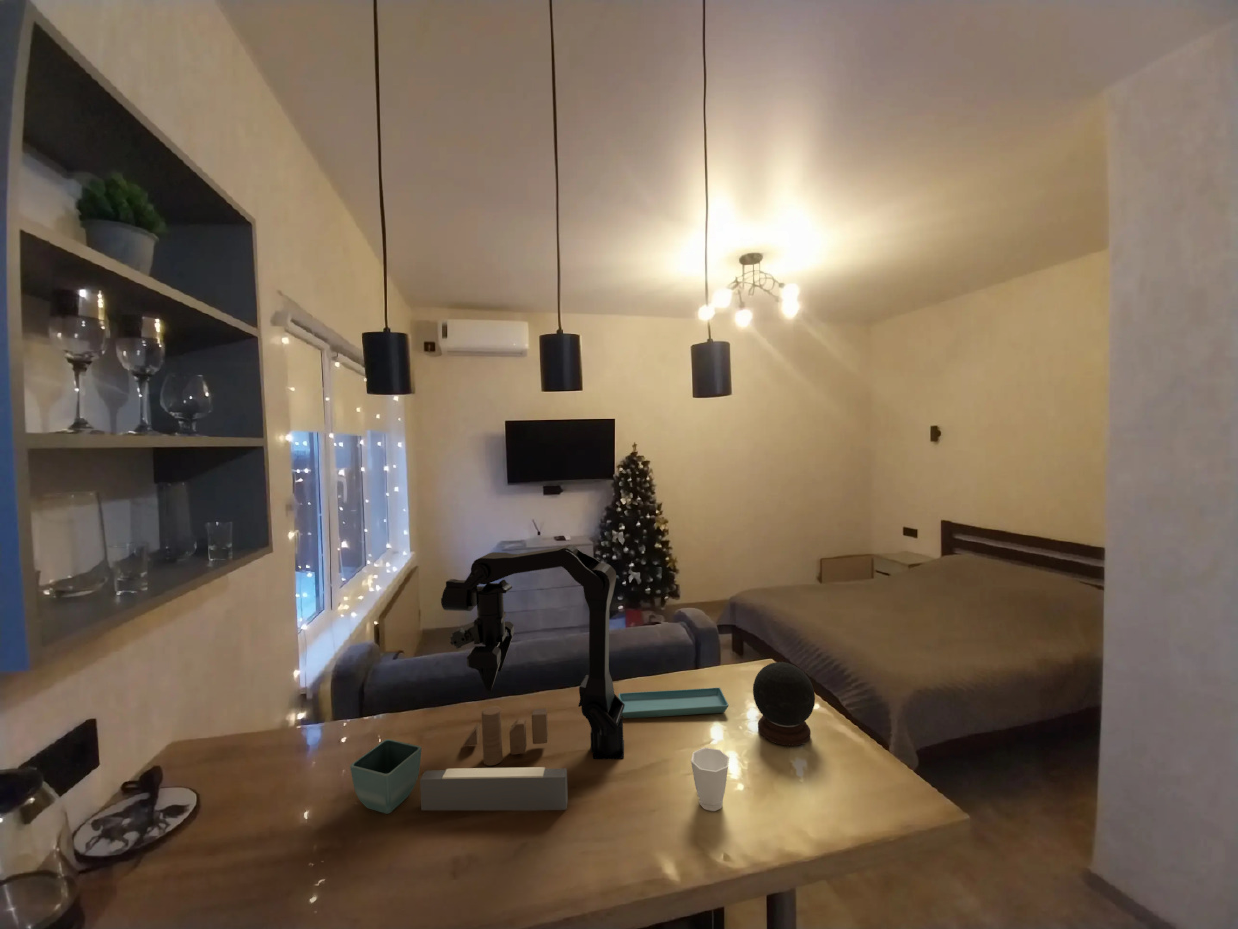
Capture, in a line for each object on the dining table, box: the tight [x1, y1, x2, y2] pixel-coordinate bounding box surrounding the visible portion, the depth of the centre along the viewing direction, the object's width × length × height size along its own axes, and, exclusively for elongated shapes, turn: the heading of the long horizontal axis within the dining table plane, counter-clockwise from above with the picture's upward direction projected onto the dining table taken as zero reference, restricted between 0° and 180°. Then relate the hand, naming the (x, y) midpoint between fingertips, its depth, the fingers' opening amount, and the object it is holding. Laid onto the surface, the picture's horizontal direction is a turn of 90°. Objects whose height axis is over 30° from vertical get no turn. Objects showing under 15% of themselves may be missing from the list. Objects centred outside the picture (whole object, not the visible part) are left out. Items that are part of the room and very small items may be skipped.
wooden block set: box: [462, 705, 549, 767], centre depth 106 cm, size 18×9×10 cm, turn 94°
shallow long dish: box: [617, 687, 729, 719], centre depth 123 cm, size 26×9×2 cm, turn 92°
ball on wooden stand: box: [752, 661, 816, 747], centre depth 111 cm, size 13×13×15 cm
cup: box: [690, 747, 730, 812], centre depth 91 cm, size 7×10×8 cm
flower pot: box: [349, 738, 423, 815], centre depth 92 cm, size 9×9×9 cm
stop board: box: [419, 766, 569, 811], centre depth 90 cm, size 26×2×6 cm, turn 89°
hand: (494, 680), depth 111 cm, fingers open, 9 cm apart
